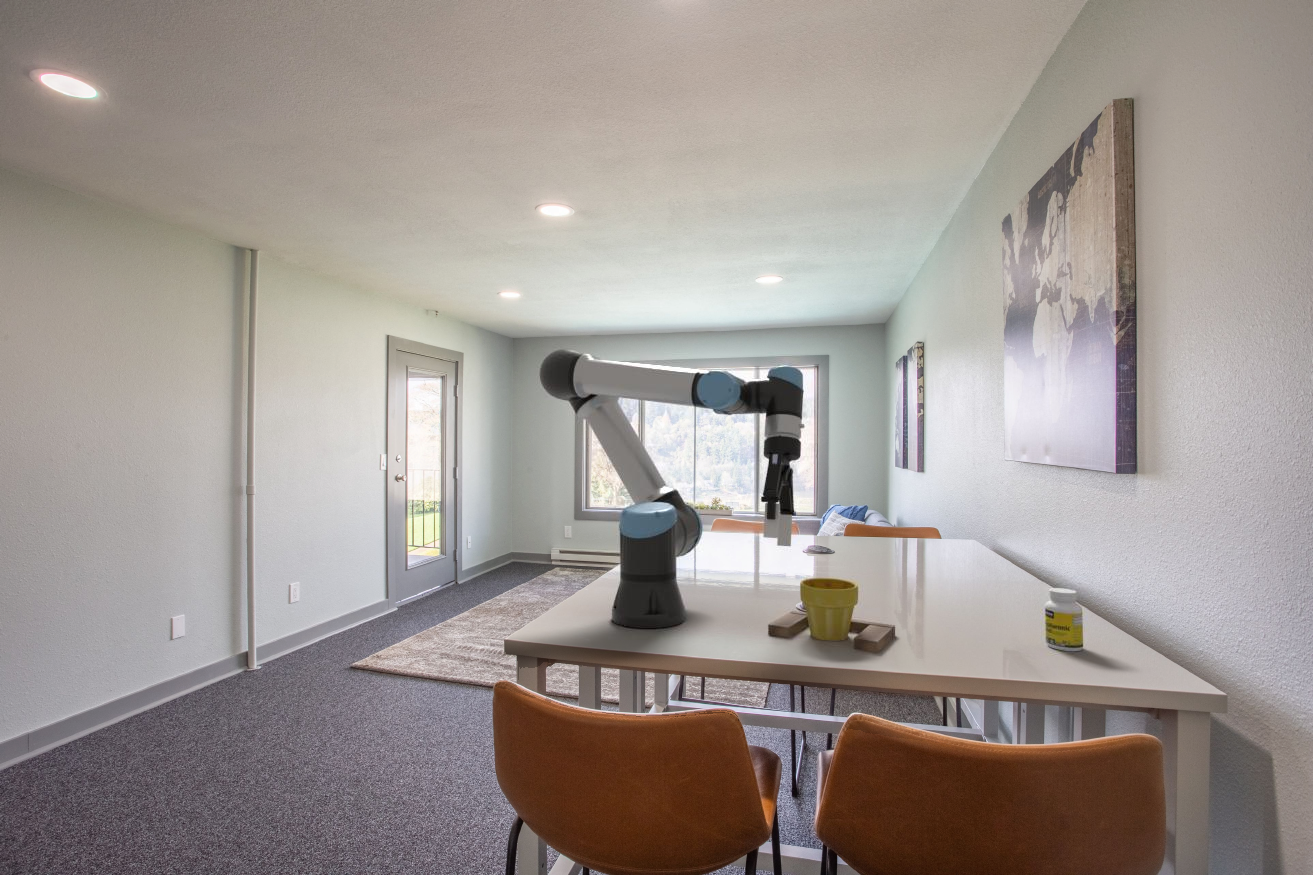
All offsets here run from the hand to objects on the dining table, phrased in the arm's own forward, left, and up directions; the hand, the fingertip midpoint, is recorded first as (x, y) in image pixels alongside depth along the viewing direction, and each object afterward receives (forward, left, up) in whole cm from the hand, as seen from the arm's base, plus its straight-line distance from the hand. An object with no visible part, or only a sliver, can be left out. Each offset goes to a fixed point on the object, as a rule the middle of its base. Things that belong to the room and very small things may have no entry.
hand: (777, 542), depth 123 cm
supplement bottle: (+47, +13, -16) cm, 52 cm away
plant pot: (+11, -2, -16) cm, 20 cm away
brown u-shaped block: (+11, -2, -16) cm, 20 cm away
